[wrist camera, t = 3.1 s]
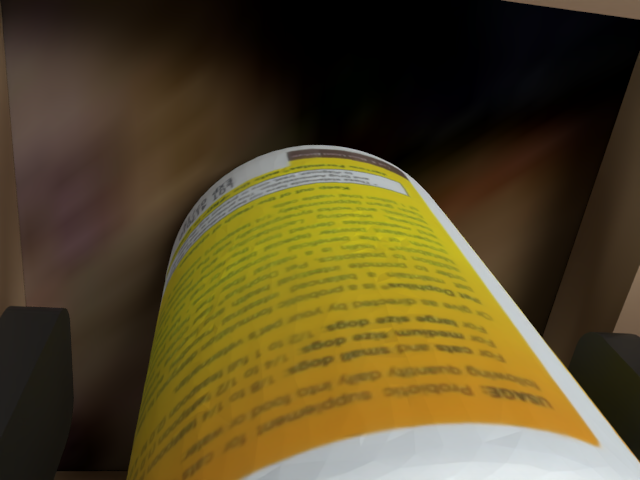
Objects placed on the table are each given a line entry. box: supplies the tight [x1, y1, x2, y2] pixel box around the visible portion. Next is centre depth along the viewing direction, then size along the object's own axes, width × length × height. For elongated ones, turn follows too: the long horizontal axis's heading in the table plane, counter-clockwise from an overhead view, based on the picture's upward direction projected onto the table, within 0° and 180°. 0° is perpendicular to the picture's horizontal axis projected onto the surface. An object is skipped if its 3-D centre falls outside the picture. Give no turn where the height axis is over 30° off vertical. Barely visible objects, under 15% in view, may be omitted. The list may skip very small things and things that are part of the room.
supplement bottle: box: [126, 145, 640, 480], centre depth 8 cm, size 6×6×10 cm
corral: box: [0, 0, 640, 480], centre depth 11 cm, size 13×13×2 cm
